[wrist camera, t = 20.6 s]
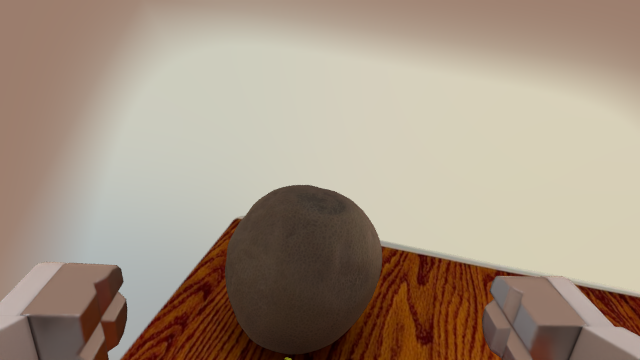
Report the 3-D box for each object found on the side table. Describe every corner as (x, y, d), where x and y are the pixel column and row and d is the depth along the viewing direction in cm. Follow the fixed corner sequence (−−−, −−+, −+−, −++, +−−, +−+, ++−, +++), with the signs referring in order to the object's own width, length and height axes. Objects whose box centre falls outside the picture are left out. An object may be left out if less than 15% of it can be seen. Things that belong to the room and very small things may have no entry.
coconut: (340, 415, 34) (360, 260, 28) (196, 353, 39) (186, 208, 33) (385, 309, 46) (406, 184, 40) (271, 271, 51) (274, 154, 45)
